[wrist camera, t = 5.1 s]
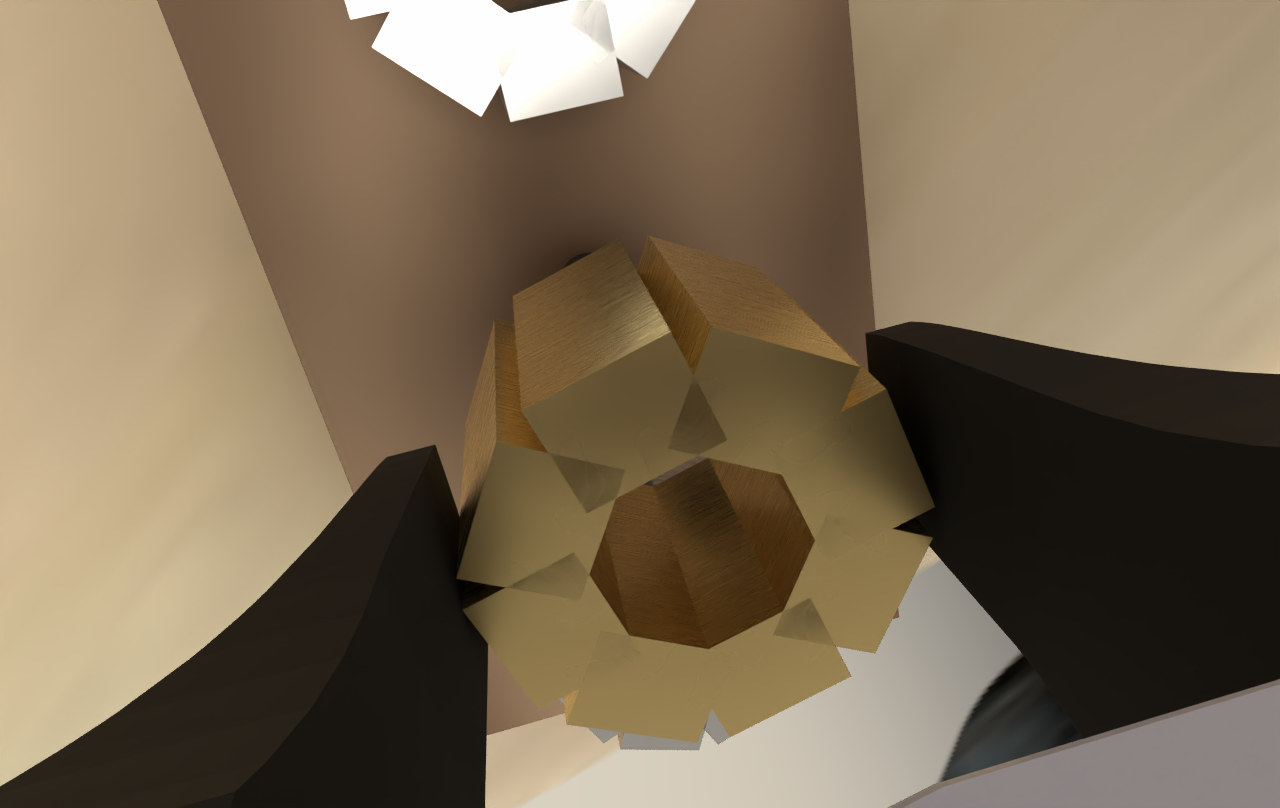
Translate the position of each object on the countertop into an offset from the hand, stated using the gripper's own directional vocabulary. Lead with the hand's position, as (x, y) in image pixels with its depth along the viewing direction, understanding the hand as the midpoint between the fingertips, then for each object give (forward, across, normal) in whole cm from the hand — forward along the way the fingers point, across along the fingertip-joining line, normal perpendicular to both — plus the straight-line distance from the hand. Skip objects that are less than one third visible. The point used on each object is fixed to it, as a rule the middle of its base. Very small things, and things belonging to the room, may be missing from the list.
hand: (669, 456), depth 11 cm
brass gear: (+2, 0, 0) cm, 2 cm away
